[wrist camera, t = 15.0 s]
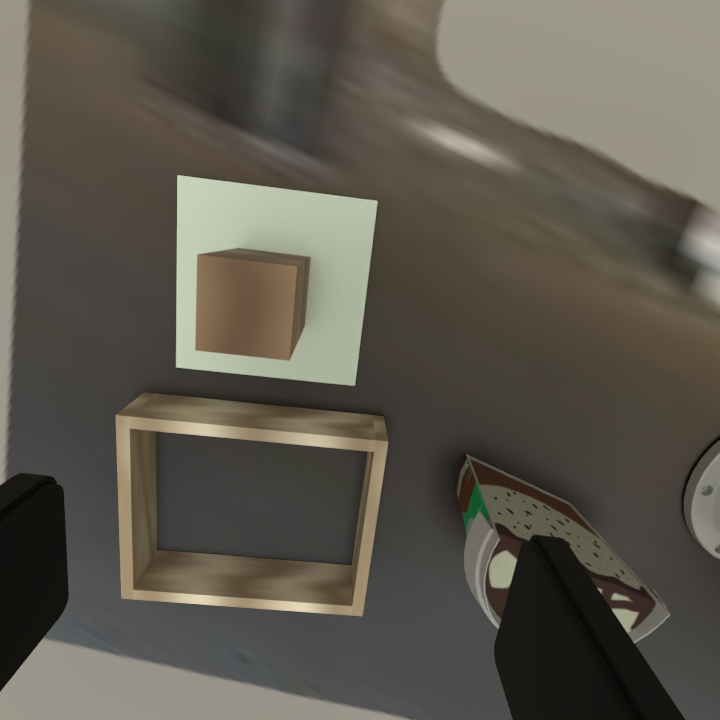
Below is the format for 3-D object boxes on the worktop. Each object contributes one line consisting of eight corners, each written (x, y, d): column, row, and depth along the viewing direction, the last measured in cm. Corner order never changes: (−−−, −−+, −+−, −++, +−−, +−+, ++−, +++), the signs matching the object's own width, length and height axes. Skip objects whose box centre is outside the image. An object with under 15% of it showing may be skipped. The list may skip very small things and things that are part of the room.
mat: (377, 201, 28) (377, 201, 27) (354, 383, 31) (354, 385, 31) (180, 176, 27) (177, 175, 27) (178, 365, 30) (176, 367, 30)
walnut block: (311, 256, 28) (297, 266, 20) (304, 326, 29) (289, 360, 22) (238, 247, 28) (197, 254, 20) (235, 318, 29) (195, 350, 21)
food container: (407, 511, 34) (431, 621, 24) (448, 445, 33) (490, 534, 23) (542, 569, 36) (613, 693, 26) (586, 509, 34) (678, 617, 25)
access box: (383, 416, 32) (388, 441, 28) (360, 574, 36) (362, 616, 32) (144, 392, 31) (115, 415, 27) (146, 557, 35) (121, 598, 31)
